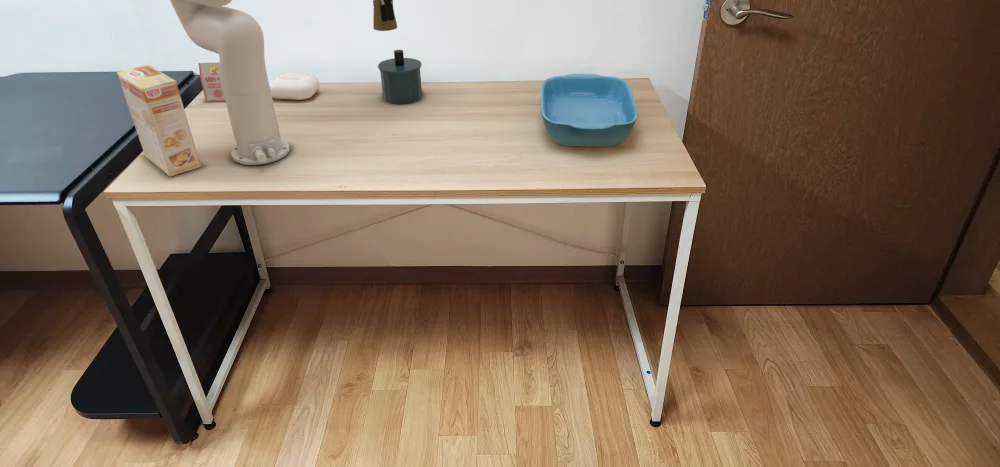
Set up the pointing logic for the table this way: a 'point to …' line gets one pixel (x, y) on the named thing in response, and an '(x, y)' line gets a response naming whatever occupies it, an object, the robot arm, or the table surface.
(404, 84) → the pot
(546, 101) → the casserole dish
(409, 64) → the pot lid
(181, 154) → the coffeecake box
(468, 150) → the table surface
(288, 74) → the earbud case
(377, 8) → the pepper mill
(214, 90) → the tea bag
